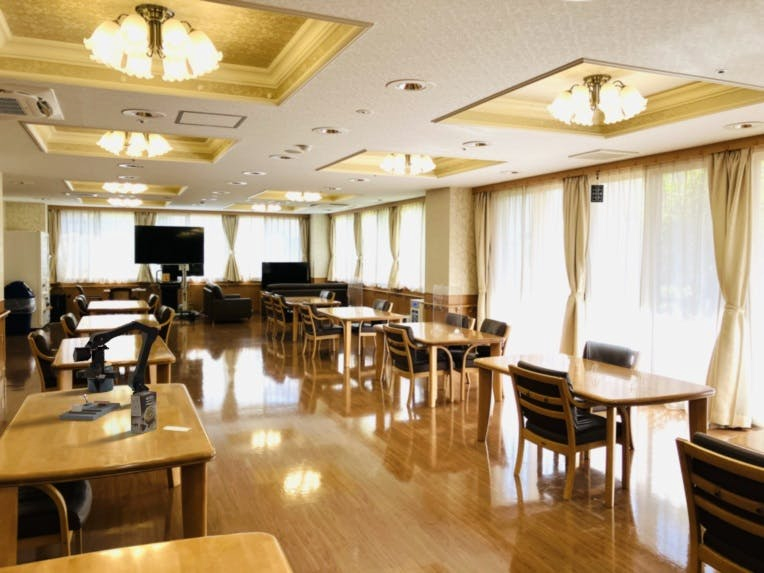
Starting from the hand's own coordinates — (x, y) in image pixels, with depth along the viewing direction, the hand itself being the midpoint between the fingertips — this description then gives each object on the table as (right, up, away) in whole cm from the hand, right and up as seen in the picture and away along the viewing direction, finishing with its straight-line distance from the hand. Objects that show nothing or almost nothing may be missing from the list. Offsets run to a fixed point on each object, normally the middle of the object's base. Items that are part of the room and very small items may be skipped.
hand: (98, 392), depth 279 cm
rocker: (0, -5, +3) cm, 6 cm away
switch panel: (-2, -9, -3) cm, 10 cm away
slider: (-6, -8, -9) cm, 13 cm away
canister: (-19, -7, +42) cm, 46 cm away
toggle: (-7, -6, +3) cm, 10 cm away
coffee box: (+33, -12, -28) cm, 44 cm away
